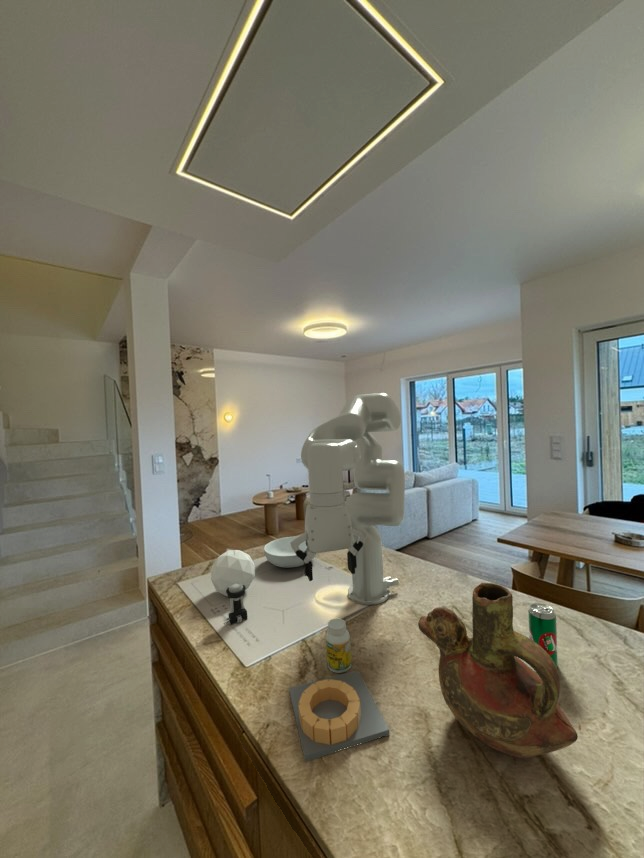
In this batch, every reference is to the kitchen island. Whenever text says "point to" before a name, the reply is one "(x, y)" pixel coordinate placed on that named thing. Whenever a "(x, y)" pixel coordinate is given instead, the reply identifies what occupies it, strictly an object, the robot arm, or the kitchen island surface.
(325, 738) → the collar
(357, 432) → the robot arm
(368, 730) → the plate
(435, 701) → the kitchen island surface
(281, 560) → the serving bowl
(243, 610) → the push button
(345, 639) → the supplement bottle
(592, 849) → the kitchen island surface
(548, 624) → the soda can
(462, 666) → the ceramic vessel
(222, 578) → the geodesic sphere
